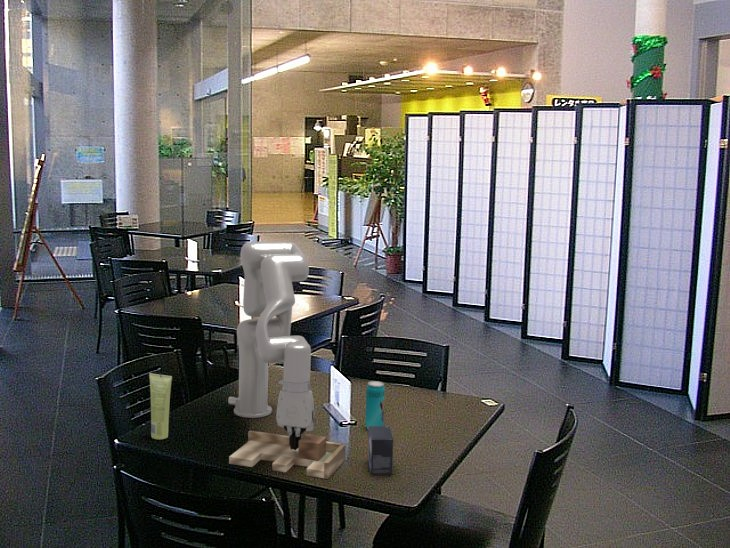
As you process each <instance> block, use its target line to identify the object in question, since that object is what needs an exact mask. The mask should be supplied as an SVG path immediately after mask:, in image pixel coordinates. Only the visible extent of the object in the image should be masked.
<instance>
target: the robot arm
mask: <svg viewBox="0 0 730 548" xmlns="http://www.w3.org/2000/svg"><path fill="white" fill-rule="evenodd" d="M240 263H241V267H242V268H243V274H244V283H243V284H244V285H243V299H242V300H243V301H242V302H243V303H242V305H243V306H242V307H243V308H242V309H243V311H244V313H245V315H246V316H249V317H251V318H250V319H244V320H242V321H240V322H239V324H238V325H237V328H236V337H237V345H238V355H239V356H238V359H239V360H238V361H239V362H238V366H239V367H238V397H235V396H229V397H228V398H227V399H228V400H227V401H228V404H229V405H234V406H235V407H234V408H233V413H234V414H235V416H239V417H241V418H250V419H255V418H257V419H258V418H263V417H267V416H269V415H271V414H272V413H273V408H272V406H270V405H268V400H269V398H268V396H269V395H268V390H269V389H268V387H269V364H279V363H283V376H282V377H283V379H279V380H278V385H281V386H282V388H280V391H279V393H278V394H279V395H278V397H277V399H278V400H277V406H276V415H275V416H276V419H275V421H276V423H277V426H278V427H280V428H282V429H284V430H285V431H286V433H287V436H289V445H290V449H294V450H297V449H298V448H299V440H300V439H301V438H302V434H304V433H305V432H312V431H314V428H315V426H314V422H315V403H314V396H313V391H312V390H311V362H312V361H311V360H312V358H311V357H312V349H311V345H310V344H309V343H308V341H307V340H306V338H305V337H304V336H302V335H291V327H292V315H293V314H292V313H293V307H294V305H295V303H296V297H295V292H294V288H293V282H304V281H306V280H307V279H308V277H309V273H310V267H309V262H308V260H307V257H306V254H304V252H303V251H302V250H301V248H299V246H298V245H297V244H296V243H294V242H293V241H250V242H246V243H244V244H243V245H242V246H241V250H240ZM252 317H253V318H252Z"/></svg>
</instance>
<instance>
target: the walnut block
mask: <svg viewBox="0 0 730 548" xmlns="http://www.w3.org/2000/svg"><path fill="white" fill-rule="evenodd" d="M326 441H327V436H322V435H317V434H311V433H306V434H304V436H302V437H301V439H300V440H299V449H298V458H303V459H308V460H314V461H319V460H320V459H321V458H322V457H323V456H324V455H325V454H326Z"/></svg>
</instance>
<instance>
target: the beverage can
mask: <svg viewBox="0 0 730 548" xmlns="http://www.w3.org/2000/svg"><path fill="white" fill-rule="evenodd" d="M385 390H386V389H385V383H384V382H383V381H379V380H377V381H375V380H372V381H368V382H367V387H366V396H365V402H366V403H365V426H366V429H367V431H369V426H384V414H385V392H386V391H385Z"/></svg>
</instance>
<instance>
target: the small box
mask: <svg viewBox="0 0 730 548" xmlns="http://www.w3.org/2000/svg"><path fill="white" fill-rule="evenodd" d="M367 432H368V435H367V462H368V467H369V472H370V475H371V476H373V475H374V476H377V475H380V476H381V475H384V476H385V475H390V476H391V475H393V474H394V473H393V467H394V466H393V465H394V464H393V463H394V462H393V461H394V459H393V458H394V441H395V440H394V436H393V433H392V430H391V427H390V426H389V425H383V426H369V430H367Z"/></svg>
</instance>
